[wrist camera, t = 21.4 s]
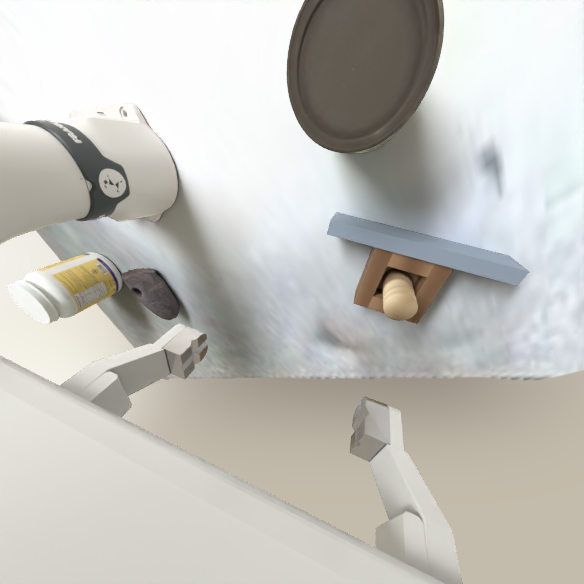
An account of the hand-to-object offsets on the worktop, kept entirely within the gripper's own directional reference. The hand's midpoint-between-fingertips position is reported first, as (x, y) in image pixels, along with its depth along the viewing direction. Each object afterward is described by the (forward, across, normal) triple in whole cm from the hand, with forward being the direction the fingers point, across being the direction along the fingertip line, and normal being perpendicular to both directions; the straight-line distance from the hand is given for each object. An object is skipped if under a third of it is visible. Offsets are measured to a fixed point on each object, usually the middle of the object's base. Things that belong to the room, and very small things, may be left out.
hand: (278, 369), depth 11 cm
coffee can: (+29, +2, -14) cm, 33 cm away
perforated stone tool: (+29, +39, +27) cm, 56 cm away
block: (+29, -10, +6) cm, 31 cm away
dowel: (+28, -10, +6) cm, 30 cm away
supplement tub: (+29, +59, +29) cm, 72 cm away
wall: (+29, -10, 0) cm, 31 cm away
